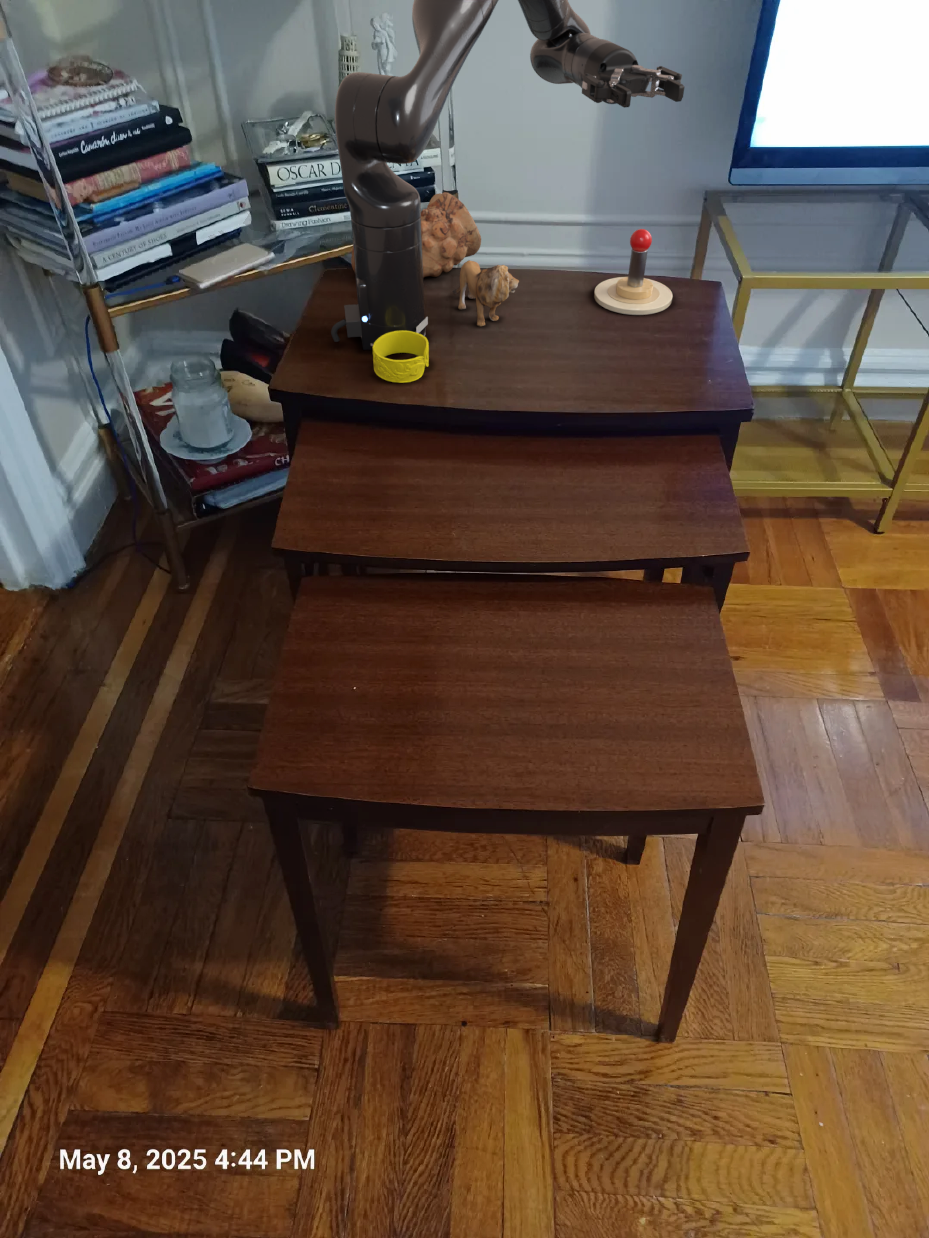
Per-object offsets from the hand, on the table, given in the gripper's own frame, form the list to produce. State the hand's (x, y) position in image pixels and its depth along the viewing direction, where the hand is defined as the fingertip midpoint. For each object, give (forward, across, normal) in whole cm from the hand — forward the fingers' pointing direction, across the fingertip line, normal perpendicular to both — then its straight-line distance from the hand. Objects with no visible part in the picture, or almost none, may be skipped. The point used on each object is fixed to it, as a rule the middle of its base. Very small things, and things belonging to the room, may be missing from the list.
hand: (655, 97), depth 128 cm
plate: (+10, -5, +25) cm, 27 cm away
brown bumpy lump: (-6, -37, +25) cm, 45 cm away
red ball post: (+10, -5, +24) cm, 27 cm away
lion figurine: (+7, -29, +25) cm, 39 cm away
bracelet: (+19, -46, +26) cm, 56 cm away
